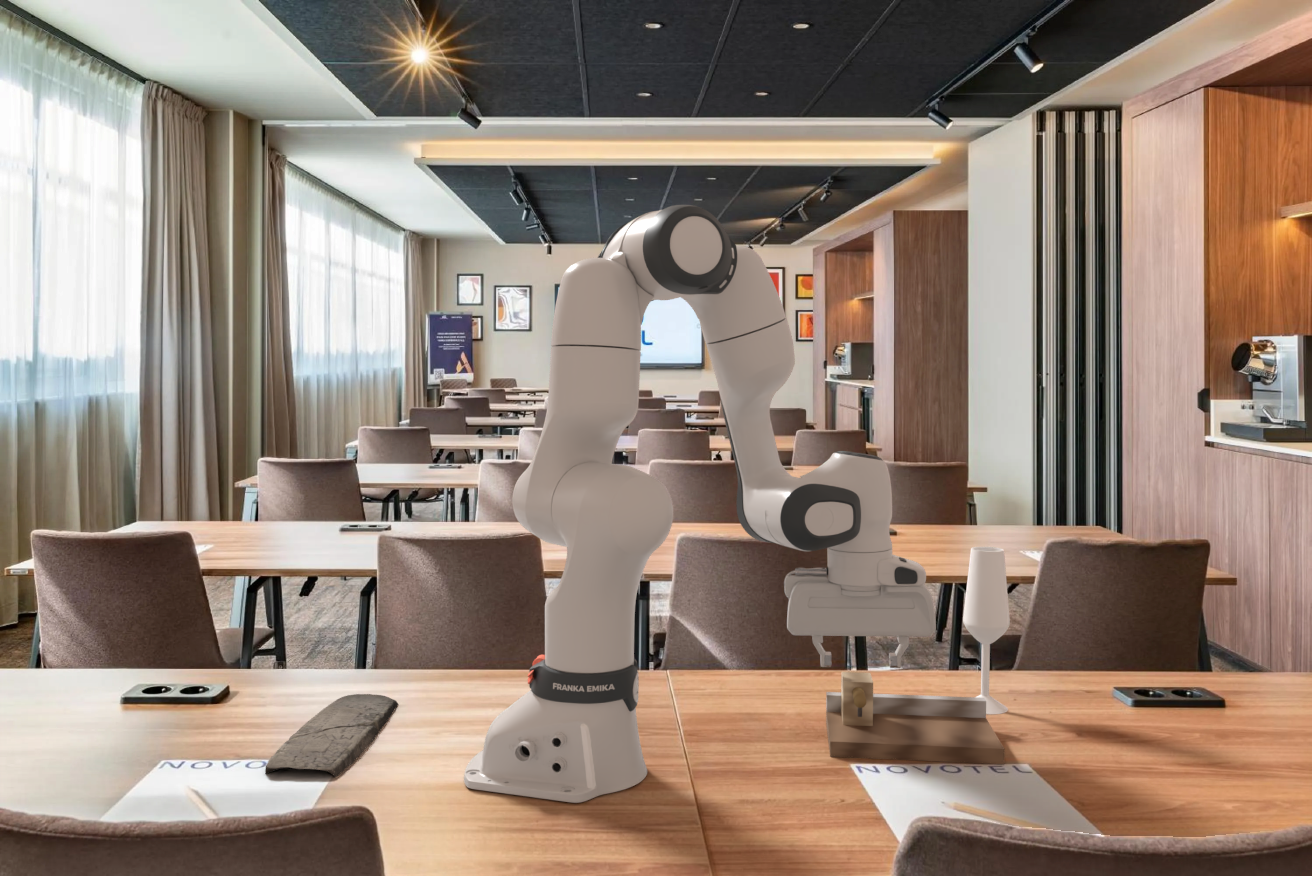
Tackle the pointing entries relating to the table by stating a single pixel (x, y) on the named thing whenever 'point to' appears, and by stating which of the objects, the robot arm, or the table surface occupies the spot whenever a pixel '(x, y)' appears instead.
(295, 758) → the stone slab
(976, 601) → the champagne flute
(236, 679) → the table surface
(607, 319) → the robot arm
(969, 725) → the walnut board
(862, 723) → the marking gauge
